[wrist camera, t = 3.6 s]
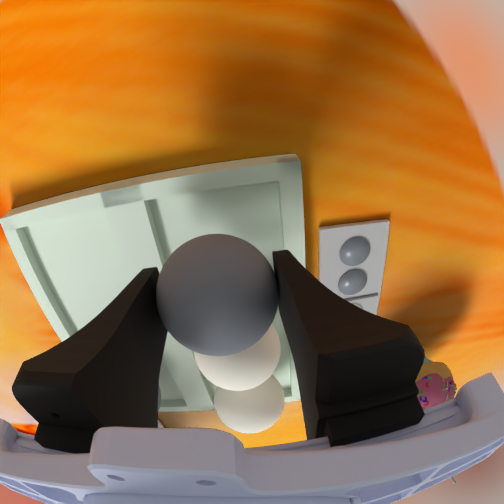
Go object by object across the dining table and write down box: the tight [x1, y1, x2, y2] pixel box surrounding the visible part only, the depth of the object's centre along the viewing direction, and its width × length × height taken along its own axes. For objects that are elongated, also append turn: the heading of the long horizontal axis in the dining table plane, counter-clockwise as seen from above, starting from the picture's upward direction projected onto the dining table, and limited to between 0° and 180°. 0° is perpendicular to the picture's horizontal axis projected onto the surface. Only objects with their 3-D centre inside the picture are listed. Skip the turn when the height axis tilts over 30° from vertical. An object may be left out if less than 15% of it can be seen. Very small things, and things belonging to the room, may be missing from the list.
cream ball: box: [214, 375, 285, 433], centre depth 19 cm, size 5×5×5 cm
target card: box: [318, 219, 390, 315], centre depth 19 cm, size 10×4×1 cm, turn 7°
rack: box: [0, 153, 306, 412], centre depth 18 cm, size 18×16×1 cm
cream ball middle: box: [194, 324, 281, 391], centre depth 16 cm, size 5×5×5 cm
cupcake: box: [415, 357, 457, 483], centre depth 18 cm, size 9×8×12 cm
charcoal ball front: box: [156, 234, 279, 356], centre depth 12 cm, size 5×5×5 cm
